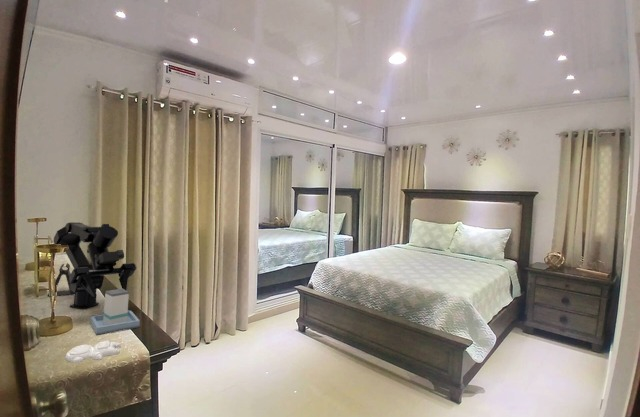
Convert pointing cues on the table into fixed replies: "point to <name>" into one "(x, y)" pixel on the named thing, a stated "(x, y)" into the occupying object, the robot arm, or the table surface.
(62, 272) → the phone stand
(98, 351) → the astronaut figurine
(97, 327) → the drip tray
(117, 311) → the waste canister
